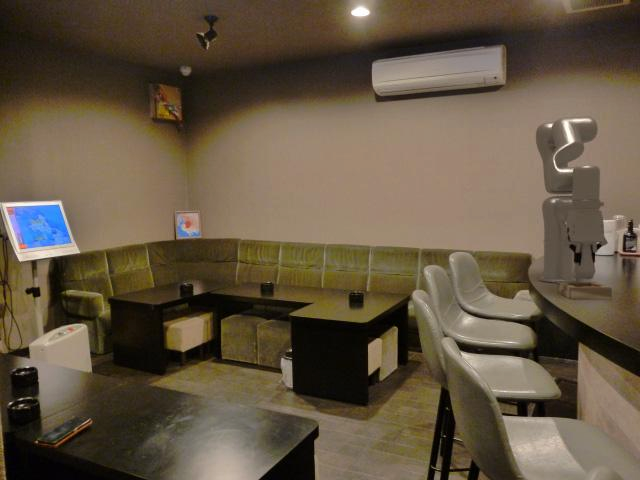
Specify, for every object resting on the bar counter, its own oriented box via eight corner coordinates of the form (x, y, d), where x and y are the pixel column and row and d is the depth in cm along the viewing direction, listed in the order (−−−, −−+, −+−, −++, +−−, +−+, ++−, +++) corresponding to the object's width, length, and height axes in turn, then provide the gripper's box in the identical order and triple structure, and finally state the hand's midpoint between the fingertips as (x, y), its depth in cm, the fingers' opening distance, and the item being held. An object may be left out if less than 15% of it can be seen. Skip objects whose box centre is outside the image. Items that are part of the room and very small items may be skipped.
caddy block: (557, 292, 164) (557, 281, 164) (594, 292, 163) (594, 281, 163) (571, 299, 153) (572, 287, 153) (611, 299, 152) (611, 287, 151)
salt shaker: (590, 277, 160) (591, 235, 159) (598, 279, 154) (599, 236, 154) (571, 277, 161) (571, 236, 160) (578, 279, 155) (579, 237, 154)
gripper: (607, 205, 159) (606, 264, 160) (553, 206, 161) (552, 264, 162) (619, 205, 152) (617, 266, 153) (562, 206, 153) (561, 266, 154)
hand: (584, 264), depth 157 cm, fingers closed on salt shaker, 3 cm apart
